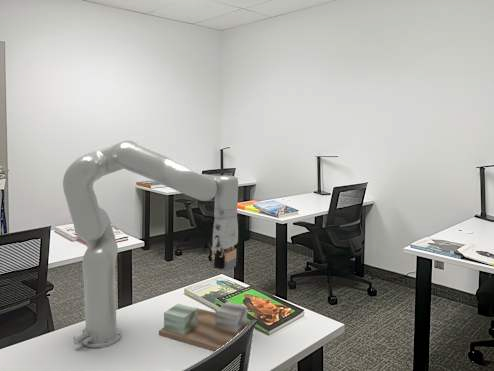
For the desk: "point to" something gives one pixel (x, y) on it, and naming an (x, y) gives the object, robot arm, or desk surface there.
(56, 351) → the desk surface
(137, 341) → the desk surface
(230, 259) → the housing
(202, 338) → the stand board
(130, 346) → the desk surface
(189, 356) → the desk surface
